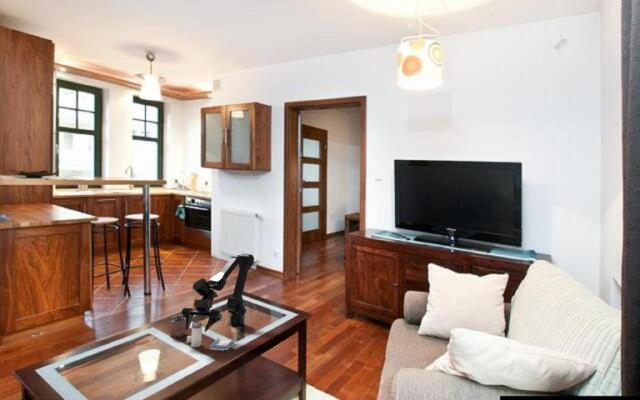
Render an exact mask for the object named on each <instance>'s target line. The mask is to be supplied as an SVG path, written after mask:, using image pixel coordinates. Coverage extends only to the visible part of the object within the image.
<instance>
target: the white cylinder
mask: <svg viewBox="0 0 640 400" xmlns="http://www.w3.org/2000/svg"><path fill="white" fill-rule="evenodd" d="M202 326H203V323H202V322H200V321H199V322H197V321H196V322H193V323H191V336H192V337H191V342H190V347H192V348H199V347H201V345H202V332H203V327H202Z"/></svg>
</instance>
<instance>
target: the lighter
mask: <svg viewBox="0 0 640 400" xmlns="http://www.w3.org/2000/svg"><path fill="white" fill-rule="evenodd" d="M171 319H172V320H170V332H169V333H170V334H169V338H176V337H175V336H178V337H180V336H179V335H182V334H185V333H186V334H187V330H186V318H184V316H183V314H178V315H173V316H172V318H171ZM186 334H185V335H186ZM182 336H183V335H182Z"/></svg>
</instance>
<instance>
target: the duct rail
mask: <svg viewBox="0 0 640 400" xmlns="http://www.w3.org/2000/svg"><path fill="white" fill-rule="evenodd" d="M191 337H192V335H188V336H186V343H191Z"/></svg>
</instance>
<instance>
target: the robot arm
mask: <svg viewBox="0 0 640 400" xmlns="http://www.w3.org/2000/svg"><path fill="white" fill-rule="evenodd" d="M254 262H255V257H254V254H251V253H249V254H248V253H241V254H233V255H232V256H231V257H230V259H229V260H228V262H226V264H225V265H224V266H223V268H222V269H221V271H220V272H218V273H217V274H215V275H214V276H212V277H211V278H210V279H209V280H208V281H206V279H205V278H203V277H201V278H200V279H198V280H196V281H195V282H194V283H193V284H192V289H193V291H195V292H196V293H197V295H199V297H201V299H194V301H193V305H192V307H194V308H195V310H193V308H191V307H184V308H182V309H181V311H180V312H181V315H183V316H184V318H186V331H188V330H189V328H190V326H191V325H192V322H193V317H194V316H197V317H198V316H199V317H208V320H207V323H206V326H205V328H204V333H206V332H208V330H210V328H212V326H213V325H214V324H216V323H218V322H221V321H222V319H223V314H222V312H221V311H220V309H213V302H214V299H216V298H218V297H219V295H218V293H217V292H219V291H222V290H223V289H224V288H225V286H226V284H227V279H228V278H229V276H230V275H232V273H233V271H234V270H235V269H236V267H237V266H238V268H239V270H238V272H237V273H238V274H237V276H236V277H237V278H236V281H235V286H234V290H233V294H232V295H231V296H228V297H227V301H226V308H227V312H228V314H230V315H229V320H228V321H229V322H228V323H229V325H230V326H231V327H240V326H244V325H245V323H244V315H245V314H246V313H247V309H246V308H245V306H244V299H243V293H244V289H245V285H246V283H247V282H246V280H247V276H248V273H249V270H250V269H251V268H252V267H253V265H254Z"/></svg>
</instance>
